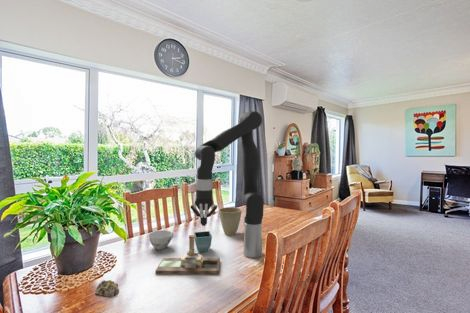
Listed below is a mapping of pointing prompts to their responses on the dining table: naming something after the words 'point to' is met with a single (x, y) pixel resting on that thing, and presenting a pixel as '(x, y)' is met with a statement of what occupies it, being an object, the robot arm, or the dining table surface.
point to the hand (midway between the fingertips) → (203, 225)
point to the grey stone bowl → (160, 239)
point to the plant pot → (230, 219)
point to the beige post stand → (192, 252)
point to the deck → (188, 265)
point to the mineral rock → (107, 288)
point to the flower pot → (203, 241)
